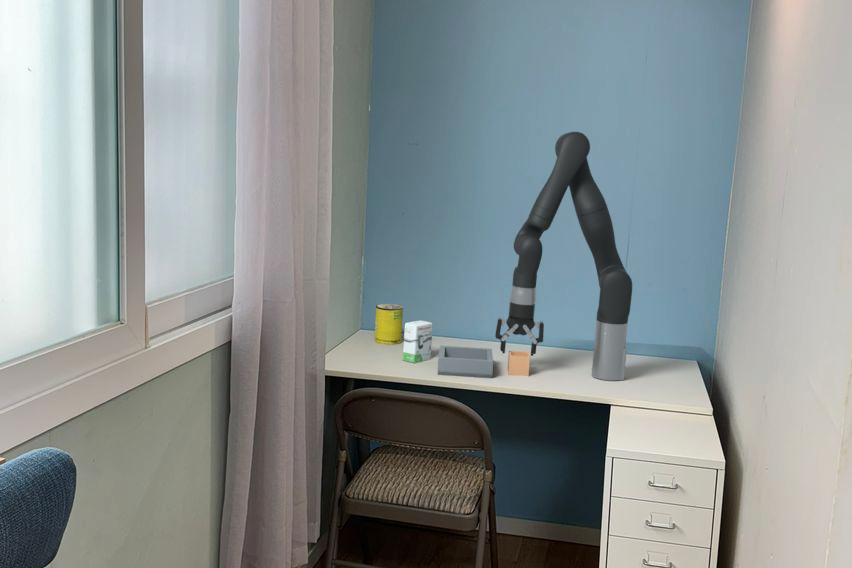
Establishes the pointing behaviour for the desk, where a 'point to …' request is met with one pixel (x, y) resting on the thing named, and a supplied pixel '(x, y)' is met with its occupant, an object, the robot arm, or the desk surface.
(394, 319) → the yellow tin can
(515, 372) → the box
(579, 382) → the desk surface
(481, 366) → the big crate
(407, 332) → the ink box
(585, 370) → the desk surface
